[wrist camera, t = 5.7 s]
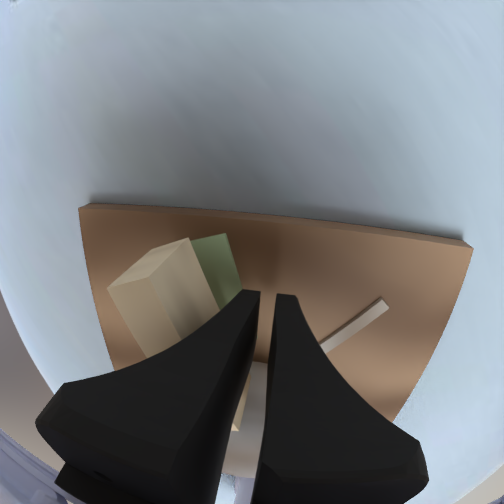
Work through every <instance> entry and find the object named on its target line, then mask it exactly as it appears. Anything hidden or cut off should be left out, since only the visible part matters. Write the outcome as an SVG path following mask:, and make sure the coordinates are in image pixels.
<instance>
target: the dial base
mask: <svg viewBox="0 0 504 504" xmlns="http://www.w3.org/2000/svg"><path fill="white" fill-rule="evenodd" d="M78 210H79V219H80V227H81V234H82V241H83V248H84V254H85V259H86V265H87V270H88V275H89V280H90V285H91V289H92V294H93V298H94V302H95V306H96V310H97V314H98V318H99V322H100V325H101V329H102V333H103V336H104V339H105V343H106V346H107V349H108V352H109V355H110V358H111V361H112V364H113V367H114V370H115V371H116V370H119V369H122V368H125V367H128V366H130V365H133V364H136V363H138V362H140V361H143V360H145V359H147V357H146V356H145V354H144V353H143V351H142V349H141V348H140V346H139V345H138V343H137V341H136V340H135V338H134V336H133V335H132V333H131V331H130V330H129V328H128V326H127V325H126V323H125V321H124V319H123V318H122V316H121V314H120V312H119V311H118V309H117V307H116V305H115V303H114V301H113V299H112V298H111V296H110V294H109V292H108V290H107V287H108V286H109V285H111V284H112V283H113V282H114V281H115V280H116V279H117V278H119V277H120V276H121V275H122V274H123V273H124V272H125V271H127V270H128V269H129V268H130V267H131V266H132V265H133V264H135V263H136V262H137V261H138V260H139V259H141V258H142V257H143V256H144V255H145V254H146V253H148V252H149V251H150V250H151V249H154V248H157V247H160V246H163V245H166V244H169V243H172V242H176V241H179V240H182V239H185V238H188V237H189V240H190V242H191V245H192V247H193V249H194V252H195V254H196V257H197V259H198V261H199V264H200V266H201V269H202V271H203V273H204V276H205V278H206V280H207V283H208V285H209V287H210V289H211V292H212V294H213V296H214V298H215V301H216V303H217V305H218V307H219V310H221V309H222V308H223V307H224V306H225V305H226V304H228V303H229V302H230V301H231V300H232V299H233V298H234V297H235V296H236V295H237V294H238V293H239V291H241V290H242V289H247V290H255V291H261V296H260V308H259V320H258V331H257V340H256V346H255V351H254V356H253V361H254V362H261V363H266V364H268V357H269V349H270V341H271V333H272V325H273V317H274V309H275V301H276V295H277V293H280V294H289V295H295V296H296V297H297V298H298V301H299V304H300V307H301V309H302V312H303V314H304V316H305V319H306V321H307V323H308V325H309V327H310V329H311V330H312V332H313V334H314V336H315V338H316V340H317V341H318V343H319V345H320V346H321V348H322V349H323V351H324V352H325V354H326V355H327V357H328V358H329V360H330V361H331V363H332V364H333V365H334V367H335V368H336V369H337V370H338V372H339V373H340V374H341V375H342V377H343V378H344V379H345V380H346V381H347V382H348V384H349V385H350V386H351V387H352V388H353V389H354V390H355V391H356V392H357V393H358V394H359V395H360V396H361V397H362V398H363V399H364V400H365V401H366V402H367V403H368V404H369V405H371V406H372V407H373V408H374V409H375V410H377V411H378V412H379V413H380V414H381V415H383V416H384V417H385V418H386V419H387V420H389V421H390V422H391V423H392V422H393V420H394V419H395V417H396V416H397V414H398V413H399V411H400V410H401V408H402V407H403V405H404V404H405V402H406V400H407V399H408V397H409V396H410V394H411V392H412V391H413V389H414V387H415V386H416V384H417V382H418V380H419V379H420V377H421V375H422V373H423V371H424V370H425V368H426V366H427V364H428V362H429V360H430V358H431V356H432V354H433V352H434V350H435V348H436V346H437V344H438V342H439V340H440V338H441V336H442V334H443V331H444V329H445V327H446V325H447V322H448V320H449V318H450V315H451V313H452V310H453V308H454V306H455V303H456V300H457V298H458V295H459V292H460V290H461V287H462V284H463V281H464V278H465V275H466V272H467V269H468V266H469V263H470V260H471V256H472V253H473V249H474V248H472V247H471V246H470V245H468V244H467V243H466V242H464V241H462V240H456V239H450V238H444V237H438V236H432V235H426V234H419V233H413V232H406V231H399V230H392V229H385V228H378V227H371V226H363V225H356V224H348V223H340V222H331V221H323V220H314V219H305V218H296V217H286V216H277V215H266V214H256V213H245V212H233V211H221V210H208V209H194V208H180V207H164V206H146V205H126V204H101V203H90V204H87V205H85V206H83V207H80V208H78Z"/></svg>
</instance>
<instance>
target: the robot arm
mask: <svg viewBox="0 0 504 504" xmlns="http://www.w3.org/2000/svg"><path fill="white" fill-rule="evenodd" d="M260 296H261V291H255V290H247V289H242V290H241V291H239V293H238V294H237V295H236V296H235V297H234V298H233V299H232V300H231V301H230V302H229V303H228V304H226V305H225V306H224V307H223V308H222V309H221V310H220V311H219V312H218V313H217V314H215V315H214V316H213V317H212V318H211V319H210V320H208V321H207V322H206V323H205V324H203V325H202V326H201V327H199V328H198V329H197V330H195V331H194V332H193V333H191V334H190V335H188V336H187V337H186V338H184V339H183V340H181V341H179V342H178V343H176V344H174V345H173V346H171V347H169V348H168V349H166V350H164V351H162V352H160V353H158V354H155V355H153V356H151V357H149V358H147V359H145V360H143V361H140V362H138V363H136V364H133V365H130V366H128V367H125V368H122V369H119V370H116V371H113V372H110V373H107V374H103V375H100V376H96V377H91V378H87V379H83V380H78V381H73V382H68V383H64V384H63V385H62V386H61V387H60V388H59V390H58V391H57V392H56V393H55V395H54V396H53V397H52V399H51V400H50V401H49V403H48V404H47V405H46V407H45V408H44V409H43V411H42V412H41V413H40V415H39V416H38V417H37V419H36V421H35V424H36V428H37V430H38V432H39V433H40V434H41V436H42V437H43V438H44V440H45V441H46V442H47V443H48V444H49V445H50V446H51V447H52V449H53V450H54V451H55V452H56V453H57V454H58V455H59V456H60V457H61V458H62V459H63V460H64V461H65V462H66V463H65V464H64V466H63V468H62V470H61V471H60V472H58V471H56V470H55V469H53V468H52V467H50V466H49V465H47V464H46V463H44V462H43V461H41V460H40V459H39V458H37V457H36V456H34V455H33V454H32V453H30V452H29V451H28V450H26V449H25V448H23V447H22V446H21V445H20V444H18V443H17V442H16V441H15V440H14V439H12V438H11V437H10V436H9V435H7V434H6V433H5V432H4V431H3V430H2V429H1V428H0V504H68V503H67V501H66V499H67V500H68V501H70V502H72V503H73V504H215V500H216V495H217V491H218V486H219V481H220V477H221V472H222V468H223V463H224V459H225V454H226V450H227V445H228V441H229V437H230V432H231V428H232V424H233V420H234V417H235V413H236V410H237V407H238V404H239V401H240V398H241V395H242V393H243V390H244V387H245V383H246V380H247V377H248V374H249V371H250V368H251V365H252V361H253V356H254V351H255V346H256V340H257V331H258V320H259V308H260ZM428 481H429V477H428V471H427V466H426V461H425V457H424V454H423V451H422V448H421V445H420V442H419V441H418V440H417V439H415V438H414V437H412V436H411V435H409V434H408V433H406V432H405V431H403V430H402V429H400V428H399V427H397V426H396V425H394V424H393V423H391V422H390V421H389V420H387V419H386V418H385V417H384V416H383V415H381V414H380V413H379V412H378V411H377V410H375V409H374V408H373V407H372V406H371V405H369V404H368V403H367V402H366V401H365V400H364V399H363V398H362V397H361V396H360V395H359V394H358V393H357V392H356V391H355V390H354V389H353V388H352V387H351V386H350V385H349V384H348V382H347V381H346V380H345V379H344V378H343V377H342V375H341V374H340V373H339V372H338V370H337V369H336V368H335V367H334V365H333V364H332V363H331V361H330V360H329V358H328V357H327V355H326V354H325V352H324V351H323V349H322V348H321V346H320V345H319V343H318V341H317V340H316V338H315V336H314V334H313V332H312V330H311V329H310V327H309V325H308V323H307V321H306V319H305V316H304V314H303V312H302V309H301V307H300V304H299V301H298V298H297V297H296V296H295V295H289V294H280V293H277V295H276V301H275V309H274V317H273V325H272V333H271V341H270V349H269V357H268V365H267V387H266V407H265V422H264V430H263V436H262V442H261V448H260V454H259V460H258V465H257V471H256V476H255V478H245V477H238V476H235V494H236V497H235V501H234V504H404V503H405V502H407V501H408V500H410V499H411V498H413V497H414V496H416V495H417V494H418V493H420V492H421V491H422V490H423V489H424V488H425V487H426V485H427V483H428ZM489 504H504V495H503V496H502V497H501V498H499V499H497V500H495V501H493V502H491V503H489Z"/></svg>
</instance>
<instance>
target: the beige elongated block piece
mask: <svg viewBox="0 0 504 504" xmlns="http://www.w3.org/2000/svg"><path fill="white" fill-rule="evenodd" d="M107 290H108V292H109V294H110V296H111V298H112V299H113V301H114V303H115V305H116V307H117V309H118V311H119V312H120V314H121V316H122V318H123V319H124V321H125V323H126V325H127V326H128V328H129V330H130V331H131V333H132V335H133V336H134V338H135V340H136V341H137V343H138V345H139V346H140V348H141V349H142V351H143V353H144V354H145V356H146V357H147V358H149V357H151V356H153V355H155V354H158V353H160V352H162V351H164V350H166V349H168V348H169V347H171V346H173V345H174V344H176V343H178V342H179V341H181V340H183V339H184V338H186V337H187V336H188V335H190V334H191V333H193V332H194V331H195V330H197V329H198V328H199V327H201V326H202V325H203V324H205V323H206V322H207V321H208V320H210V319H211V318H212V317H213V316H214V315H215V314H217V313H218V312H219V311H220V310H219V307H218V305H217V303H216V301H215V298H214V296H213V294H212V292H211V289H210V287H209V285H208V283H207V280H206V278H205V276H204V273H203V271H202V269H201V266H200V264H199V261H198V259H197V257H196V254H195V252H194V249H193V247H192V245H191V242H190V240H189V237H188V238H185V239H182V240H179V241H176V242H172V243H169V244H166V245H163V246H160V247H157V248H154V249H151V250H150V251H149V252H148V253H146V254H145V255H144V256H143V257H142V258H141V259H139V260H138V261H137V262H136V263H135V264H133V265H132V266H131V267H130V268H129V269H128V270H127V271H125V272H124V273H123V274H122V275H121V276H120V277H119V278H117V279H116V280H115V281H114V282H113V283H112V284H111V285H109V286H108V287H107ZM267 365H268V364H266V363H261V362H254V361H252V365H251V368H250V371H249V374H248V377H247V380H246V383H245V387H244V390H243V393H242V395H241V398H240V401H239V404H238V407H237V410H236V413H235V417H234V420H233V424H232V428H231V432H230V437H229V441H228V445H227V450H226V454H225V459H224V463H223V468H222V473H225V474H229V475H233V476H238V477H245V478H255V476H256V471H257V465H258V460H259V454H260V448H261V442H262V436H263V430H264V422H265V407H266V387H267Z"/></svg>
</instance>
